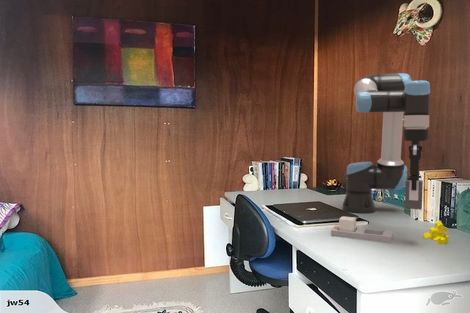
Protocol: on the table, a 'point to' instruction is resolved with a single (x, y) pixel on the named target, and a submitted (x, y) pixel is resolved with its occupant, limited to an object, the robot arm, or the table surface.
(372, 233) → the power strip
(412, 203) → the block
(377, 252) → the table surface
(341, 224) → the block
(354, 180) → the robot arm
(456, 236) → the table surface
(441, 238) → the yellow lumpy cluster
